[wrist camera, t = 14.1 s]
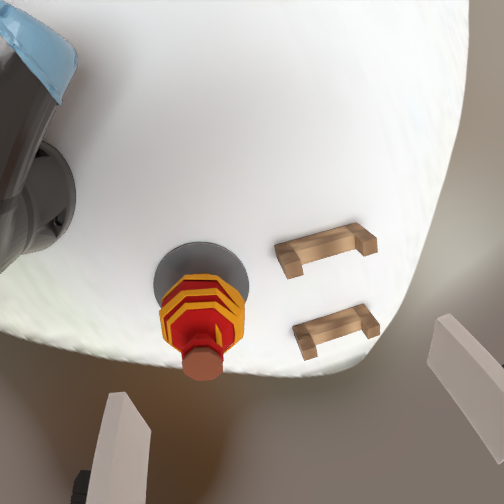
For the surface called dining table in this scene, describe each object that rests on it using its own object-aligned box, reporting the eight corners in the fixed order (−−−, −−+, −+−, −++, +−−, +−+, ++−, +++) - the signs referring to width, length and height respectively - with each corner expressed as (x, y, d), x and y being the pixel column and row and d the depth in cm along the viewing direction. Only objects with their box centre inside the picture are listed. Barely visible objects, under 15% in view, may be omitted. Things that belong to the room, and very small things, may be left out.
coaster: (174, 333, 46) (173, 336, 45) (140, 257, 40) (139, 260, 40) (257, 311, 46) (258, 314, 45) (234, 230, 41) (235, 232, 40)
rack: (294, 335, 49) (304, 360, 43) (274, 245, 42) (284, 264, 37) (364, 313, 49) (379, 334, 44) (356, 222, 42) (376, 237, 37)
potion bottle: (225, 328, 46) (234, 407, 32) (156, 308, 43) (140, 386, 29) (253, 267, 42) (275, 338, 29) (178, 242, 39) (164, 308, 26)
